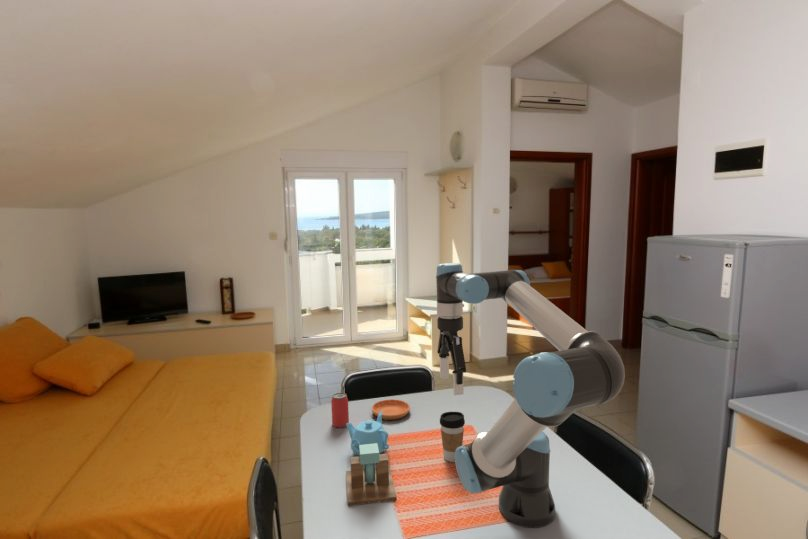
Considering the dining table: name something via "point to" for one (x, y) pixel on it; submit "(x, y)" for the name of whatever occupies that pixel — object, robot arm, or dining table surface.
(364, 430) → the teapot
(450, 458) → the coffee cup
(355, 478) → the bracket
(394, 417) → the saucer
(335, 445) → the dining table surface
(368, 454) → the peg
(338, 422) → the beer can
